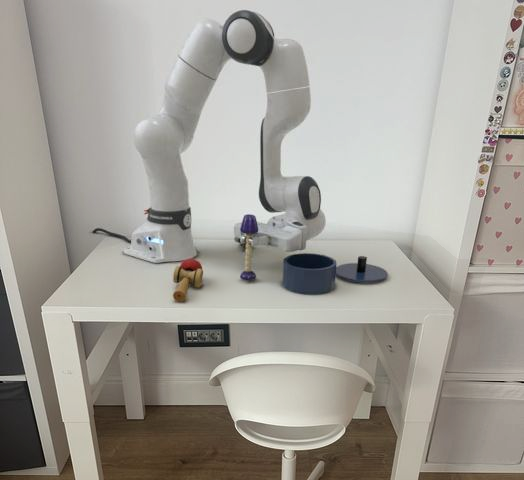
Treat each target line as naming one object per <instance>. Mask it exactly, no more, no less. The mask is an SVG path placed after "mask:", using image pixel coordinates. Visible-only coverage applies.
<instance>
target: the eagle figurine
mask: <svg viewBox="0 0 524 480" xmlns="http://www.w3.org/2000/svg"><path fill="white" fill-rule="evenodd" d="M234 242H235V243H239V245H240V246H243V247H242V252H244V251H246V244H245V243H241V242H240V238H236V237H235V236H234ZM254 248H255V246H252V249H254Z"/></svg>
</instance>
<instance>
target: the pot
mask: <svg viewBox="0 0 524 480" xmlns="http://www.w3.org/2000/svg"><path fill="white" fill-rule="evenodd" d="M337 266H338V265H337V260H336V259H335V258H333V257H331V256H328V255H326V254H319V253H313V252H312V253H308V252H305V253H303V252H302V253H294V254H289V255H287V256H285V257H284V258H283V263H282V286H283V288H284V289H286V291H290V292H292V293H295V294H302V295H322V294H326V293H329V292H332V291H333V290H334V289H335V286H336V276H337V275H336V267H337Z"/></svg>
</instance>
